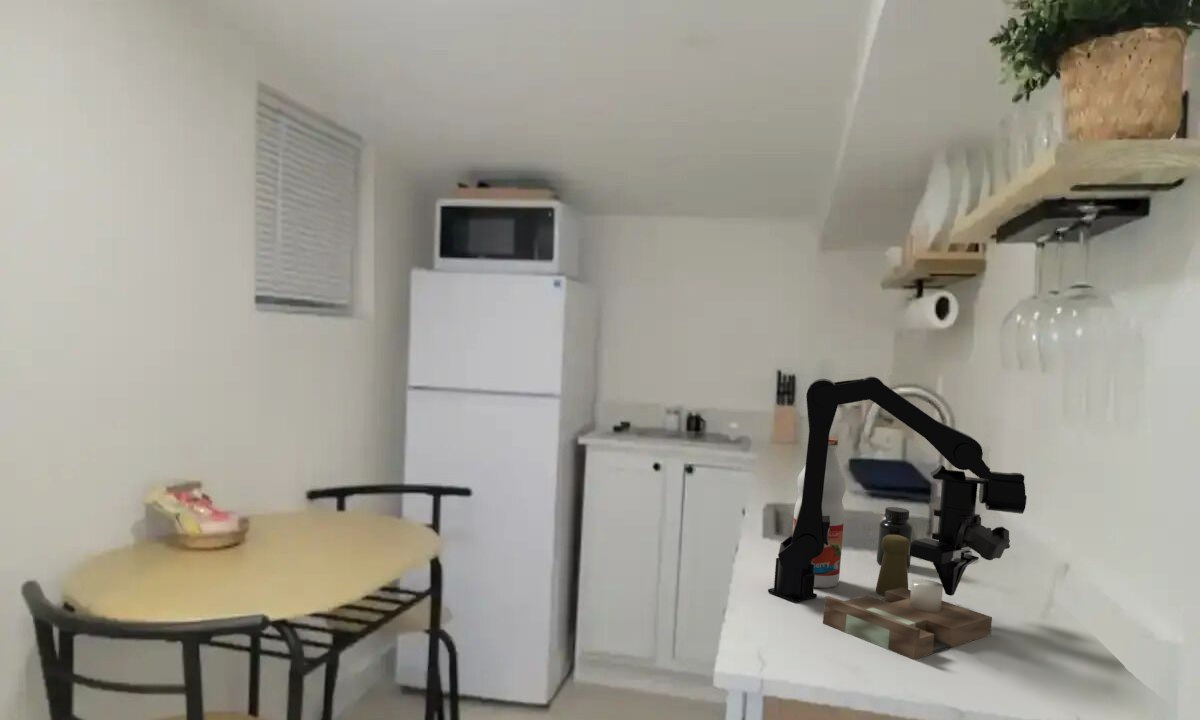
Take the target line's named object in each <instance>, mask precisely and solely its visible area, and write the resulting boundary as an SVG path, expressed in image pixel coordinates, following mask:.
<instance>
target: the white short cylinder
mask: <svg viewBox="0 0 1200 720" xmlns="http://www.w3.org/2000/svg"><path fill="white" fill-rule="evenodd" d="M910 583H911V584H910V590H911V593H910V606H911V607H913V608H915V609H918V610H922V611H928V612H938V611H940V610H941V604H942V601H943V592H944V591H943V590H944V588H943V585H942V583H940V582H937V581H935V580H931V579H923V578H916V579H915V578H914V579H912V580H911V582H910Z"/></svg>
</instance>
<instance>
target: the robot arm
mask: <svg viewBox="0 0 1200 720" xmlns="http://www.w3.org/2000/svg"><path fill="white" fill-rule="evenodd" d="M805 397H806V408H807V421H808V440H807V447H806V448H807V449H806V458H805V459H806V460H805V464H806V466H805V465H804V467H805V476H804V485H803V495H802V503H801V506H800V509H799V513H798V516H797V519H796V523H795V526H794V529H793V528H792V534H791V535H789V536H788V538H785V540H783V541H781V543H780V546H779V550H778V554H777V555H778V556H777V557H776V558H775V570H774V571H775V572H774V581H773V582H774V584H773V587H771V588H768V589H767V592H768V593H770V594H772V595H775V596H778V597H780V598H783V599H786V600H787V601H791V602H793V603H795V602H796V603H797V602H801V601H806V600H810V599H814V598H817V597H818V594H817V593H815V592H814V588H815V587H814V578H815V575H814V574H813V569H814V565H813V564H811V563H810V562H811V560H812V559H813V558H816V557H817V556H819V555H820V554H821V553H822V551H823V548H824V544H826V545H828V534H827V533H828V529H829V526H830V516H823V514H822V498H823V489H824V479H825V470H826V460H827V451H828V442H829V437H830V432H831V429H832V425H833V423H834V419H835V416H836V413H837V409H838V407H839V405H846V404H847V405H848V404H851V403H852V404H853V403H858V402H863V401H868V400H869V401H870V402H873V403H874V404H876V405H877V406H879V407H880V408H882V409H883V410H884V411H885V412H887V413H889V414H890V415H892V416H893V417H895V419H897V420H899V421H900V422H902V423H903V424H905V425H906V427H908V428H910V429H911V430H913V431H914V432H916V433H918V435H920V436H921V437H923V438H924V439H925V440H927V441H928V443H929V444H931V445H932V447H933V448H935V450H937V451H938V453H940V454H941V455H942V457H944V458H945V460H946V461H948V463H950V464H951V466H953V467H954V468H956V469H958V470H953V469H946V467H945V466H944V465H943V464H940V465H939V466H938V467H937V468H936V469H934V470H933V471H931V472H930V477H932V479H933V480H941V489H940V502H939V509H938V508H937V509H934V511H933V516H935V517H938V520H937V521H938V523H937V531H936V532H932V535H931V538H928V537H924V538H918V539H913V540H912V542H911V543H910V544H909V556H911V557H914V558H917V559H919V560H923V561H926V562H930V563H932V564H933V566H934V568H935V571H936V573H937V575H938V578H939V580H940V582H941V583H940V584H942V585H943V590H944V591H943V592H944V593H945V595H947V596H949V597H951V596H954V595H955V593H956V591H957V588H958V587H959V584H960V581H961V579H962V577H963V575H964V573H965V570H966V568H967V567H968V566H969V565H971V564H972V563H974V562H976V561H978V560H979V559H980V558H979V556H976V555H972V554H973V551H974V552H975V553H977V554H979V555H980V557H981V558H982V559H984V560H986V561H993V560H994V559H1001V557H1002V555H1003V554H1004V551H1005V550H1007V549H1010V547H1011V544H1010V542H1011V541H1010V530H1008V529H1007V528H1005V527H1004V526H997V527H995V528H993V529H992V527H986V526H984V525H982V517H981V514H977V513H976V509H977V507H976V505H977V498H978V499H979V504H984V506H985V510H987V511H994V512H995V511H996V512H1002V513H1012V514H1013V513H1014V514H1024V512H1025V509H1026V505H1027V497H1028V496H1027V495H1026V485H1025V484H1026V483H1025V475H1024V474H1023V473H1021V472H1020V473H1019V472H1002V471H992V470H991V468H990V467H989V466H988V465H987V464H986V463H985V461H984V460H983V447H982V446H981V444H980V442H978V441H977V440H976V439H975V438H974V437H972V436H970V435H969V434H967V433H964V432H962V431H960V430H958V429H956V428H954V427H951V426H950V425H947V424H945V423H943V422H940V421H938V420H937V419H935V418H934V417H932V416H931V415H929V414H928V413H926V412H925V411H923V410H922V409H920V408H919V407H917V406H916V405H915V404H913V403H912V402H910V401H909V400H907V399H906V398H904V397H903V396H902V395H900V394H899V393H897V392H896V391H894V390H893V389H891V388H890V387H889V386H887V385H886V384H884V383H883V381H882V380H881V379H879V377H875V376H867V377H864V378H860V379H859V378H858V379H851V380H850V379H849V380H841V381H837V382H836V381H835V382H834V381H832V380H830V379H827V378H819V379H815V380H814V381H813V382H812V383H810V384H809V386H808V388H807V391H806V396H805ZM968 470H969V472H971V473H972V474H973V475H975V476H977V477H972V476H966V473H965V471H968ZM978 484H979V490H978ZM977 494H978V495H977ZM977 496H978V497H977ZM971 550H973V551H971Z"/></svg>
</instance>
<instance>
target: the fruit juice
mask: <svg viewBox="0 0 1200 720" xmlns="http://www.w3.org/2000/svg"><path fill="white" fill-rule="evenodd" d="M838 445H839V441H838V438H835V437H830V436H829V442H828V451H827V460H826V470H825V479H824V489H823V498H822V514H823V516H830V526H829V529H828V533H827V534H828V545H826V544H824V548H823V551H822V553H821V554H820V555H819V556H817V557H816V558H813V559H812V560H811V562H810V563H811V564H813V565H814V569H813V574H814V575H815V578H814V588H818V589H819V588H821V589H822V588H823V589H824V588H825V589H826V588H833V587H836V586H837V585H838V584H839V580H840V574H841V573H840V572H841V560H842V549H843V548H842V546H843V536H844V523H845V508H844V505H843V498H844V496H845V495H844V494H845V492H846V487H847V486H846V485H847V483H846V482H847V481H846V479H845V477H844V475H843V472H842V470H841V466H840V463H839V459H838V456H837V450H836V449H838ZM805 466H806V463H805V465H804V467H803V468H802V470H801V471H800V472H799V474H798V476H797V481H796V486H797V492H798V497H797V499H796V502H795V505H794V508H793V509H794V511H793V523H792V530H793V529H794V526H795V523H796V519H797V516H798V513H799V509H800V506H801V503H802V495H803V485H804V476H805Z"/></svg>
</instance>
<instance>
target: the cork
mask: <svg viewBox="0 0 1200 720" xmlns="http://www.w3.org/2000/svg"><path fill="white" fill-rule="evenodd" d="M909 544H910V541H909V540H908V539H907V538H906V537H903V536H900V535H886V536H884V538H883V539H882V549H883V551H884V554H883V559H882V563H881V565H880V567H879V573H878V577H877V582H876V586H875V591H874V592H875V593H876V594H878V595H879V596H882V597H885V591H889V590H893V589H897V588H905V589H908V590H909V578H908V574H909V573H908V568H907V554H908V553H909Z"/></svg>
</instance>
